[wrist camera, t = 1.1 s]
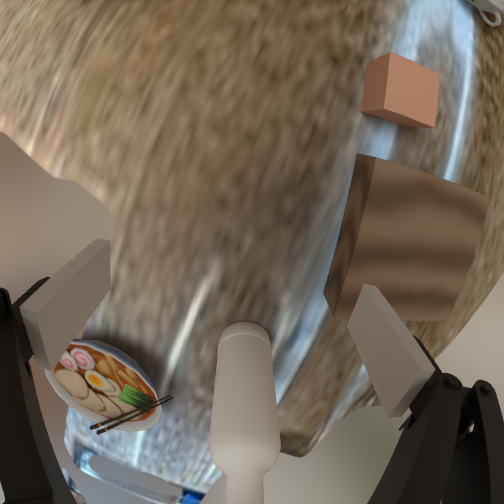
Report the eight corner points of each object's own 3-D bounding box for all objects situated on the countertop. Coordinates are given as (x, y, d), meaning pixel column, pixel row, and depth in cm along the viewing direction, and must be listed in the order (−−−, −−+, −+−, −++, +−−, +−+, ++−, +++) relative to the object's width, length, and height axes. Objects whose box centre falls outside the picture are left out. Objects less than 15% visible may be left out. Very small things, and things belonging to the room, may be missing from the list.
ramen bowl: (104, 288, 41) (81, 318, 33) (200, 380, 48) (195, 416, 40) (42, 347, 46) (23, 372, 38) (120, 415, 53) (111, 443, 46)
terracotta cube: (366, 63, 30) (390, 51, 23) (411, 80, 30) (440, 74, 24) (360, 112, 32) (383, 108, 26) (405, 127, 33) (434, 127, 26)
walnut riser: (356, 153, 34) (376, 157, 29) (465, 188, 36) (490, 197, 30) (323, 293, 42) (333, 316, 36) (428, 302, 43) (445, 321, 37)
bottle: (213, 325, 43) (187, 523, 15) (264, 315, 43) (283, 520, 15) (226, 362, 46) (216, 538, 18) (273, 354, 46) (293, 535, 18)
